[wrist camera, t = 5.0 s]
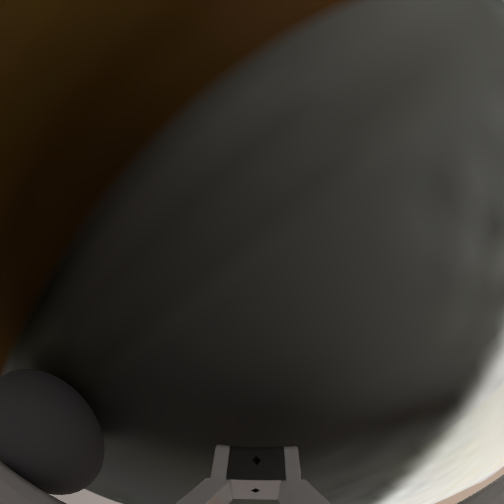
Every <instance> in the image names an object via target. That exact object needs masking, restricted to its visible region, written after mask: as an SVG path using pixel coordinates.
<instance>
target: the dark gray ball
mask: <svg viewBox="0 0 504 504" xmlns="http://www.w3.org/2000/svg"><path fill="white" fill-rule="evenodd" d="M103 458H104V440H103V435H102V431H101V428H100V425H99V423H98V420H97V418H96V416H95V414H94V412H93V411H92V409H91V407H90V406H89V405H88V403H87V402H86V401H85V400H84V398H83V397H82V396H81V395H80V394H79V393H78V392H77V391H76V390H75V389H74V388H73V387H71V386H70V385H69V384H67V383H66V382H65V381H63V380H61V379H60V378H58V377H56V376H54V375H51V374H49V373H47V372H43V371H39V370H33V369H22V370H16V371H12V372H10V373H7V374H5V375H3V376H2V377H1V378H0V461H1V462H2V463H3V464H5V465H6V466H7V467H9V468H10V469H11V470H13V471H14V472H15V473H17V474H18V475H20V476H21V477H23V478H24V479H25V480H27V481H28V482H30V483H32V484H33V485H35V486H36V487H38V488H39V489H41V490H43V491H44V492H46V493H48V494H54V495H64V494H72V493H75V492H78V491H80V490H82V489H84V488H86V487H87V486H88V485H90V484H91V483H92V482H93V480H94V479H95V478H96V477H97V475H98V473H99V472H100V469H101V467H102V463H103Z"/></svg>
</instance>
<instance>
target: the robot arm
mask: <svg viewBox="0 0 504 504" xmlns="http://www.w3.org/2000/svg"><path fill="white" fill-rule="evenodd" d="M233 499H278V502H279V503H280V504H331V503H330V502H329V501H328V500H327V499H326V498H324V497H323V496H322V495H321V494H320V493H319V492H318V491H317V490H316V489H315V488H314V487H313V486H312V485H311V484H310V483H309V482H307V481H306V480H301V470H300V462H299V453H298V448H297V446H287V447H283V446H277V447H242V446H229V445H216V448H215V453H214V459H213V465H212V471H211V476H210V478H205V479H204V480H203V481H202V482H201V483H200V484H199V485H197V486H196V487H195V488H194V489H193V490H191V491H190V492H189V493H188V494H187V495H185V496H184V497H183V498H182V499H180V500H179V501H178V502H177V503H175V504H229V503H230V502H231V501H232V500H233ZM0 504H66V503H64V502H62V501H60V500H58V499H57V498H55V497H53V496H51V495H49V494H48V493H46V492H44V491H43V490H41V489H39V488H38V487H36V486H35V485H33V484H32V483H30V482H28V481H27V480H25V479H24V478H23V477H21V476H20V475H18V474H17V473H15V472H14V471H13V470H11V469H10V468H9V467H7V466H6V465H5V464H3V463H2V462H1V461H0ZM457 504H504V475H502V476H501V477H500V478H498V479H496V480H495V481H494V482H492V483H490V484H489V485H487V486H486V487H484V488H483V489H481V490H479V491H478V492H476V493H475V494H473V495H471V496H469V497H468V498H466V499H464V500H462V501H460V502H459V503H457Z"/></svg>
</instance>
